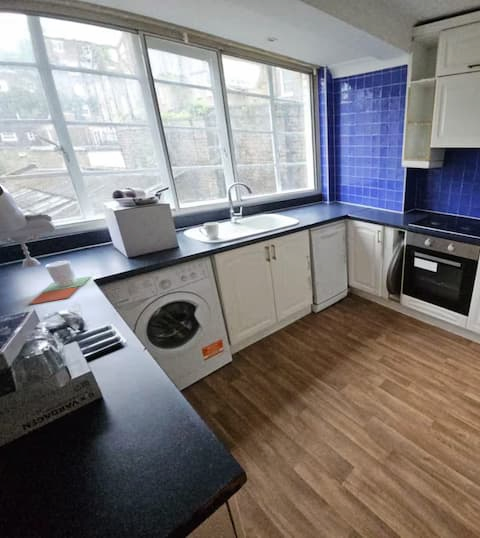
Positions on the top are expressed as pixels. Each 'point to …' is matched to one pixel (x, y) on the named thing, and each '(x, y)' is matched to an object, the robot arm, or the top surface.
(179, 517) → the top surface
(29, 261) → the chalice
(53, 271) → the white cup
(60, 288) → the sage mat
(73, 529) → the top surface
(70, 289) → the terracotta mat
